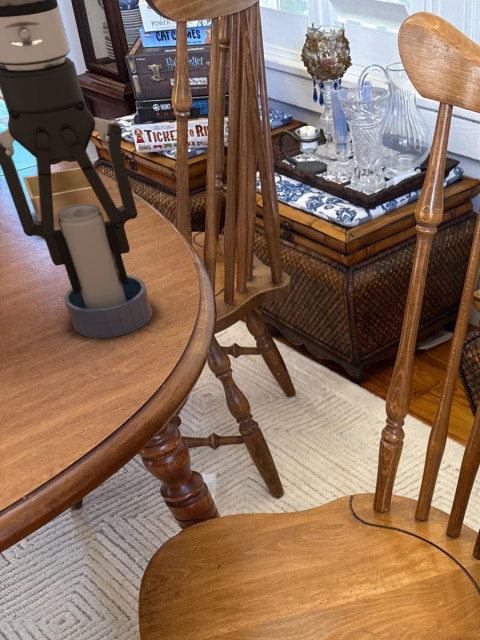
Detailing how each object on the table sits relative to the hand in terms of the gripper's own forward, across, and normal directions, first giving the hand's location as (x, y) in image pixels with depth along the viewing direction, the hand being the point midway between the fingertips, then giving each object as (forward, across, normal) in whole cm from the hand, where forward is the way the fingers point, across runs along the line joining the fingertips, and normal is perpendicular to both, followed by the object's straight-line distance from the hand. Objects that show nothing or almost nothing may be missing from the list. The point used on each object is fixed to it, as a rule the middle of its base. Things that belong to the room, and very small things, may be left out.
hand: (100, 283), depth 93 cm
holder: (+5, -1, +35) cm, 35 cm away
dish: (+4, 0, 0) cm, 4 cm away
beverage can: (+4, 0, 0) cm, 4 cm away
